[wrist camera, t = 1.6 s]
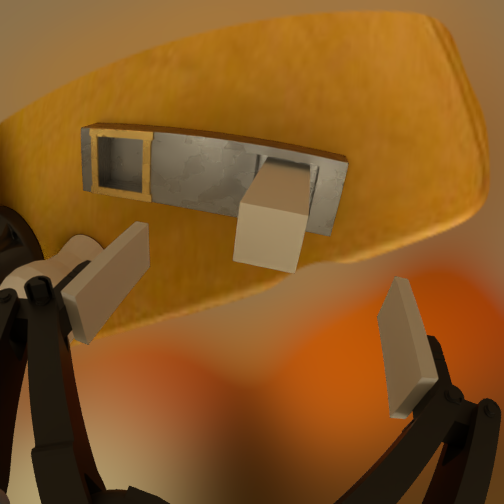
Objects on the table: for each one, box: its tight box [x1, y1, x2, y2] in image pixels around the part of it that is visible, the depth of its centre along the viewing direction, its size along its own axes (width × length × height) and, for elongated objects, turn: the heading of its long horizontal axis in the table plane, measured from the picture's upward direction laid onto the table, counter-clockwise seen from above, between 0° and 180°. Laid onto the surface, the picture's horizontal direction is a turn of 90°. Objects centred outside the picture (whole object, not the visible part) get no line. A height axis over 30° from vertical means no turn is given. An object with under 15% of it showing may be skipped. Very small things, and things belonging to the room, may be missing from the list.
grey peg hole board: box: [81, 123, 349, 236], centre depth 30 cm, size 26×7×3 cm, turn 82°
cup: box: [0, 235, 104, 343], centre depth 34 cm, size 11×11×15 cm
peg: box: [233, 157, 311, 274], centre depth 25 cm, size 4×4×12 cm
